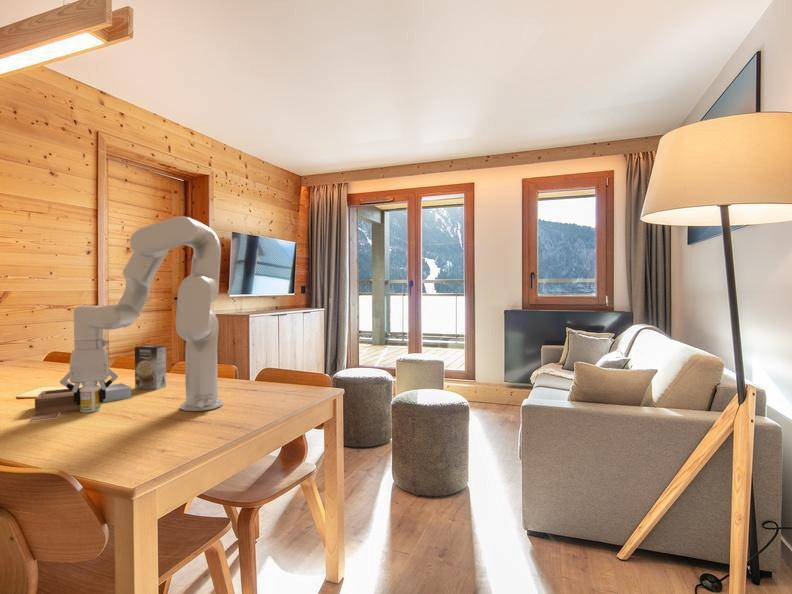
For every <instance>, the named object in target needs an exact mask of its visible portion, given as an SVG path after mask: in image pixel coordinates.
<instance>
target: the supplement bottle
mask: <svg viewBox="0 0 792 594" xmlns="http://www.w3.org/2000/svg"><path fill="white" fill-rule="evenodd" d="M81 385H82V386H81V387H79V388H80V390H79V393H80V410H79V411H80V413H95V412H98V411H99V410H101V406H102V405H101V402H100V387H101V386H100V385H98V381H96V382H94V381H88V382H84V383H81Z"/></svg>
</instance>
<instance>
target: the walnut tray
mask: <svg viewBox="0 0 792 594" xmlns="http://www.w3.org/2000/svg"><path fill="white" fill-rule="evenodd" d="M80 388H81V387H79V388H78V389H79V390H80ZM77 411H80V405H76V402H74V393H73V392H72V391H71V390H70V389H68V388H62V389H61V388H60V389H52V390H51V389H50V390H42V391H41V392H40V393H39V394H38V395H37V396H36V398H35V399H34V414H43V413H52V412H61V413H67V412H77Z"/></svg>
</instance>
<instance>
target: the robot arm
mask: <svg viewBox="0 0 792 594" xmlns="http://www.w3.org/2000/svg"><path fill="white" fill-rule="evenodd" d="M129 246H130V248H131V250H132V251H133V252H132V254H131V256H130V258H129V260H128V261H127V263H126V265H125V266H124V268H123V270H122V276H123V278H124V280H125V289H124V292H123V293H122V296H121V298H120V299H119V301H118V303H117V304H112V305H102V306H100V305H79V306H76V307H75V308H74V310H73V342H74V343H73V349H72V350H71V354H70V359H69V371H68V372H67V374H66V375H64V377H62V379H60V381H59V384H60V385H62V386H64V387H66V389H70V390H71V391H72V392H73V393H74V402H76V405H80V393H79V389H78V388H80V385H81V384H82V383H84V382H88V381H94V382H96V381H97V382H98V383H99V386H100V387H101V389H100V402H101V403H103V399H106V388H107V387H108V386H109V385H112V384H113V383H114V382H115V381H116V380H118V378H119V375H117V374H116V373H115V372H114V371H113V370H112V369H110V364H109V363H110V362H109V355H108V350H107V348H106V346H107V345H108V346H109V345H110V342H109V340H105V339H104V330H107V331H111V330H112V331H113V330H118V329H121V328H125V327H129V326H131V325H132V324H133V323H134V322H136V320H137V319H138V318H139V316H140V314H141V313H142V311H143V309H144V307H145V305H146V304H147V301H148V298H149V293H150V291H151V285H152V282H153V280H154V278H155V276H156V274H157V273H158V271H159V269H160V267H161V265H162V264H163V262H164V260H165V258H166V257H167V255H168V253H169V251H170V249H173V248H176V247H180V246H187V247H191V248H192V249H193V255H192V258H191V265H190V267H191V269H190V275H188V276H186V277H185V278H184V279H183V280H182V281H181V282H180V284H179V287H178V290H177V300H176V312H175V331H176V333H177V334H178V336H179V337H180V338H181V339H182V340H184V341H185V349H184V351H185V353H184V354H185V355H184V356H185V357H184V358H185V359H184V361H185V363H184V364H185V370H184V371H185V401H183V402H182V403H181V404H180V409H181V410H183V411H186V412H202V411H203V412H204V411H211V410H215V409H217V408H219V407H221V406H223V404H224V400H222V399H221V398H219V396H218V395H219V394H218V393H219V392H218V389H219V387H218V386H219V385H218V340H219V339H218V338H219V329H220V327H219V326H220V325H219V324H220V323H219V319H218V316H217V315H216V314H215V312H214V311H212V310H211V305H212V304H211V303H213V302H215V300H216V299H217V298H218V297H219V296H218V295H219V291H220V290H219V287H220V275H221V274H220V273H221V261H222V260H221V259H222V257H221V255H222V247H221V241H220V239H219V237H218V235H217V234H216V233H215V231H213V230H212V229H211V228H210V227H208V226H207V225H206V224H203V223H202V222H200V221H199V220H196V219H194V218H191V217H188V216H183V215H182V216H181V215H180V216H175V217H171V218H168V219H166V220H162V221H159V222H155V223H153V224H149V225H147V226H144V227H141V228H139V229H137V230H135V231H134V232H133V233H132V234H131V236H130V238H129ZM109 376H110V378H109ZM107 379H108V380H107ZM68 380H69V381H68ZM106 380H107V381H106ZM72 383H73V384H72Z"/></svg>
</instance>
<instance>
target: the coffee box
mask: <svg viewBox="0 0 792 594" xmlns="http://www.w3.org/2000/svg"><path fill="white" fill-rule="evenodd" d="M166 386H167V345H165V344H163V345H162V344H142V345H138V346H137V345H136V346H134V389H135V390H153V391H154V390H155V391H156V390H159V389H162V388H164V387H166Z"/></svg>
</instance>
